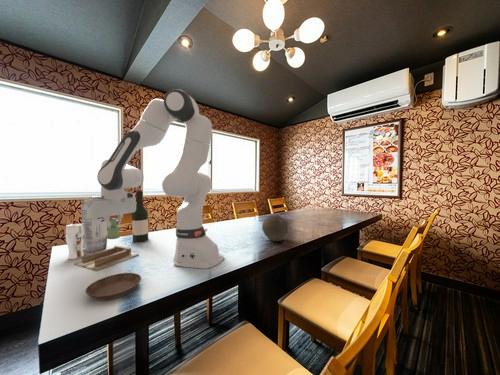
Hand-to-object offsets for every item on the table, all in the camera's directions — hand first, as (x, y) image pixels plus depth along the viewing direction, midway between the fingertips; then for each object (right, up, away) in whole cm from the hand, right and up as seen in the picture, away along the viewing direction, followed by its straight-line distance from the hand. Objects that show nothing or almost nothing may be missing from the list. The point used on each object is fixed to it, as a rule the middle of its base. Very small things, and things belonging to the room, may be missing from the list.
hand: (113, 225), depth 93 cm
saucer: (+19, -16, -28) cm, 38 cm away
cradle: (-1, -15, -2) cm, 15 cm away
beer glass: (-18, -15, +1) cm, 24 cm away
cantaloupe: (+77, -14, +23) cm, 82 cm away
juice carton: (-18, -15, +12) cm, 26 cm away
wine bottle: (-2, -14, +27) cm, 30 cm away
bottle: (0, -6, 0) cm, 6 cm away
